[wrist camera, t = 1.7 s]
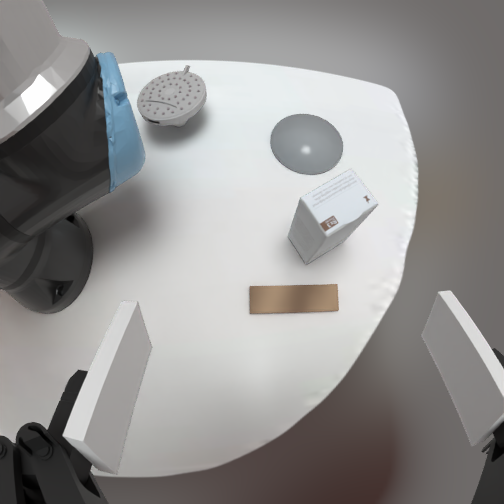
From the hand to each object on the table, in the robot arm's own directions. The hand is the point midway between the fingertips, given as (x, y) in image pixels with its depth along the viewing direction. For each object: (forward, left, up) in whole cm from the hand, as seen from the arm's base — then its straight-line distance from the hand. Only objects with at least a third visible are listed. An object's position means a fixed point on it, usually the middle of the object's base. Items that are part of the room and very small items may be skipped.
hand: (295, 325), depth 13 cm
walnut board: (+3, +4, -22) cm, 23 cm away
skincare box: (+6, +11, -23) cm, 26 cm away
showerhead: (-12, +30, -23) cm, 39 cm away
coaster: (+6, +25, -22) cm, 34 cm away
